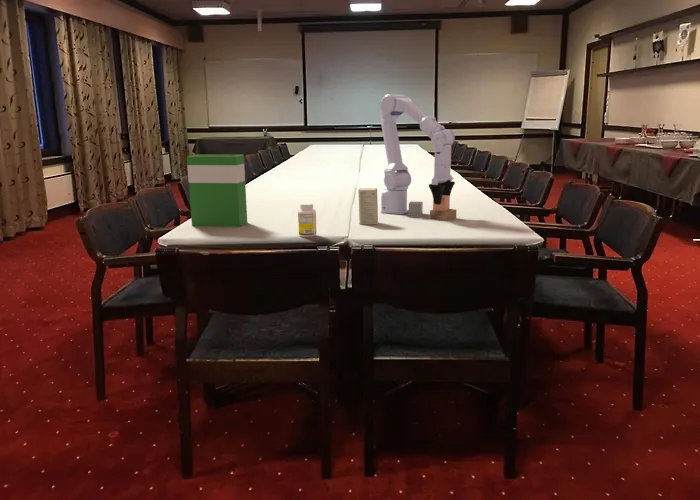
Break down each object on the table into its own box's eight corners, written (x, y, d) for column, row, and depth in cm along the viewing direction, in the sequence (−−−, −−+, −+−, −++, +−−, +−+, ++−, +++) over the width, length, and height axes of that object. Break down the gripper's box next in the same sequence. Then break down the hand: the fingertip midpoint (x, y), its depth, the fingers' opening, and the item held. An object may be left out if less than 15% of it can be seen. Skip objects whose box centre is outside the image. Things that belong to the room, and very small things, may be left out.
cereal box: (191, 225, 201) (186, 156, 195) (201, 221, 208) (196, 154, 202) (239, 226, 197) (235, 156, 192) (247, 222, 205) (243, 154, 199)
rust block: (433, 210, 207) (433, 196, 206) (437, 208, 210) (438, 194, 209) (444, 211, 204) (445, 197, 203) (449, 209, 208) (449, 195, 207)
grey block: (408, 216, 213) (408, 203, 212) (410, 214, 218) (410, 201, 216) (420, 216, 212) (420, 203, 211) (422, 214, 216) (422, 201, 215)
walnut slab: (429, 220, 207) (429, 210, 206) (439, 217, 213) (439, 207, 212) (447, 222, 203) (447, 212, 202) (456, 219, 209) (456, 209, 208)
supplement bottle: (307, 233, 185) (306, 201, 183) (320, 235, 182) (319, 203, 179) (295, 236, 181) (294, 204, 179) (307, 238, 178) (306, 205, 175)
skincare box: (378, 222, 202) (378, 187, 199) (376, 224, 198) (376, 189, 195) (360, 222, 203) (360, 187, 200) (358, 224, 199) (358, 189, 196)
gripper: (445, 166, 195) (444, 206, 198) (460, 163, 207) (459, 200, 210) (426, 166, 199) (425, 205, 202) (442, 162, 211) (441, 199, 214)
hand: (441, 202), depth 206 cm, fingers open, 7 cm apart
